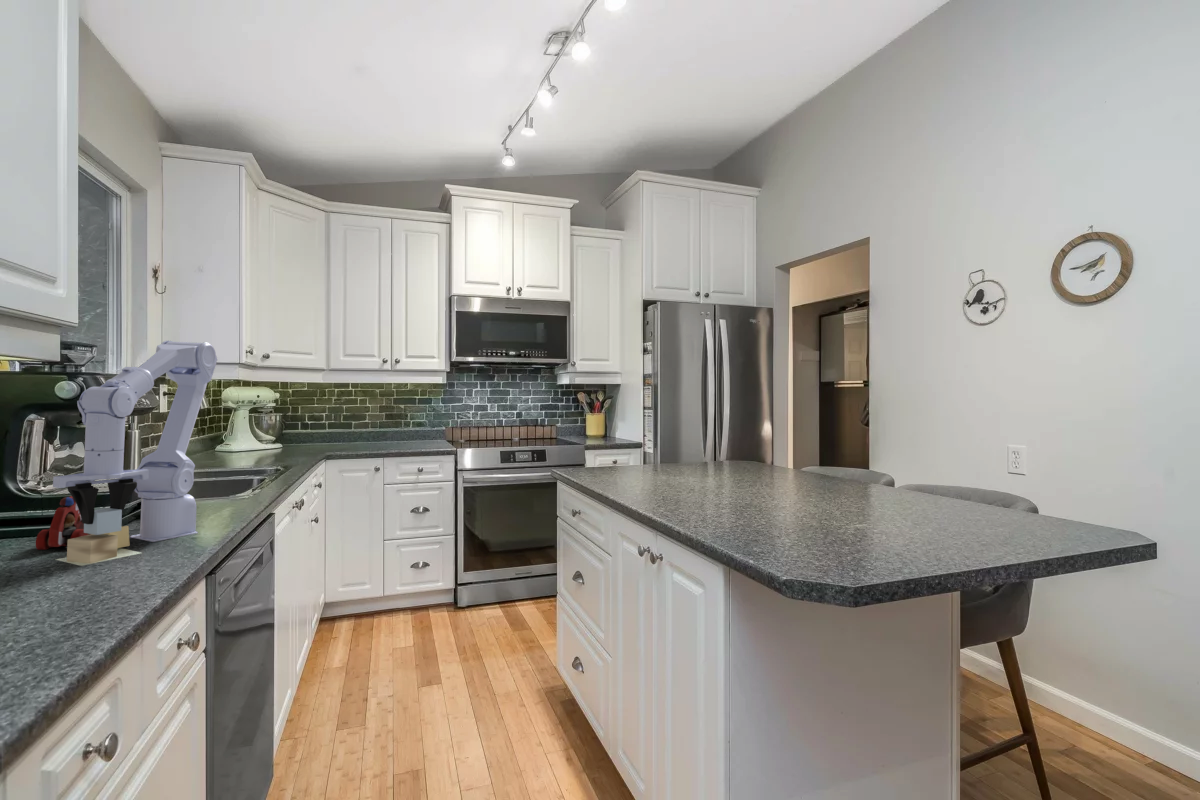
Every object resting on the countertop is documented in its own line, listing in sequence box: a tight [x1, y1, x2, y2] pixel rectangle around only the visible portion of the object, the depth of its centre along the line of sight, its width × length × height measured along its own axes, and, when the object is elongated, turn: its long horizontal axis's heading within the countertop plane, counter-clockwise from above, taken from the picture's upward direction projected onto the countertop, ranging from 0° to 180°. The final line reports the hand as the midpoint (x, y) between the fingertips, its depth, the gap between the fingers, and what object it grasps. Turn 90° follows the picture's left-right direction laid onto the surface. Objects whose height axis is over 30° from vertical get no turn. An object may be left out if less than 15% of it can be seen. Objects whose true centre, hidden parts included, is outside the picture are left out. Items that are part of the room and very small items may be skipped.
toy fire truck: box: [35, 495, 91, 551], centre depth 117 cm, size 7×12×10 cm, turn 18°
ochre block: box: [105, 525, 131, 548], centre depth 115 cm, size 4×4×4 cm
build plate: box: [55, 547, 142, 567], centre depth 110 cm, size 10×8×1 cm
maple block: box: [66, 534, 118, 565], centre depth 108 cm, size 5×5×4 cm
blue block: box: [84, 507, 123, 535], centre depth 110 cm, size 4×4×4 cm
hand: (101, 521), depth 110 cm, fingers closed on blue block, 4 cm apart
